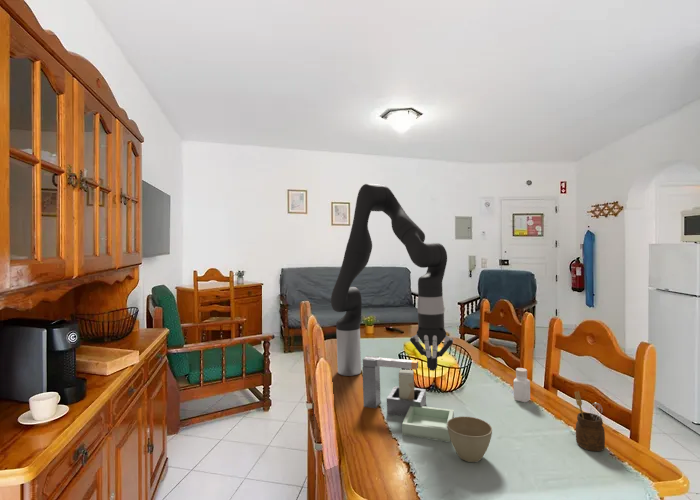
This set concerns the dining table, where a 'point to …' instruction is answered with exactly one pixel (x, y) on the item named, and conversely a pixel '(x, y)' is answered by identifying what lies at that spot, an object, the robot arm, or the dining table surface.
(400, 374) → the box
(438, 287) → the robot arm
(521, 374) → the white pill bottle
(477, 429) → the flower pot
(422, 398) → the collar
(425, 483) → the dining table surface
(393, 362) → the bar
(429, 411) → the tray
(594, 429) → the utensil holder
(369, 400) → the post
